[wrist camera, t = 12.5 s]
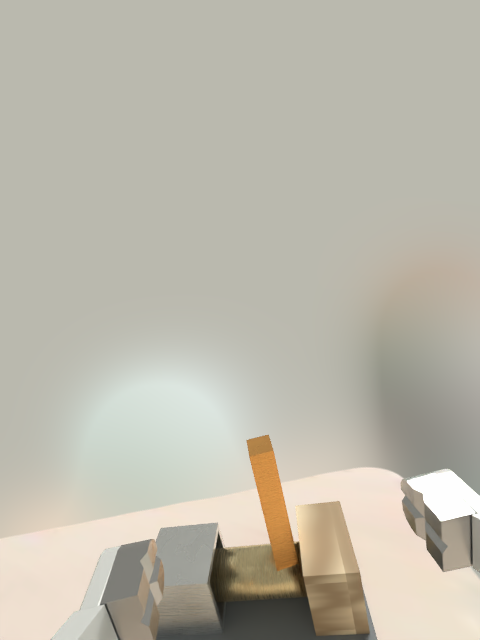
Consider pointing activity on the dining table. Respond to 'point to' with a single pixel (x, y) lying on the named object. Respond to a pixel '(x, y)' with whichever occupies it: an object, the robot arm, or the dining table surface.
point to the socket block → (330, 571)
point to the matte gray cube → (189, 581)
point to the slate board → (272, 622)
